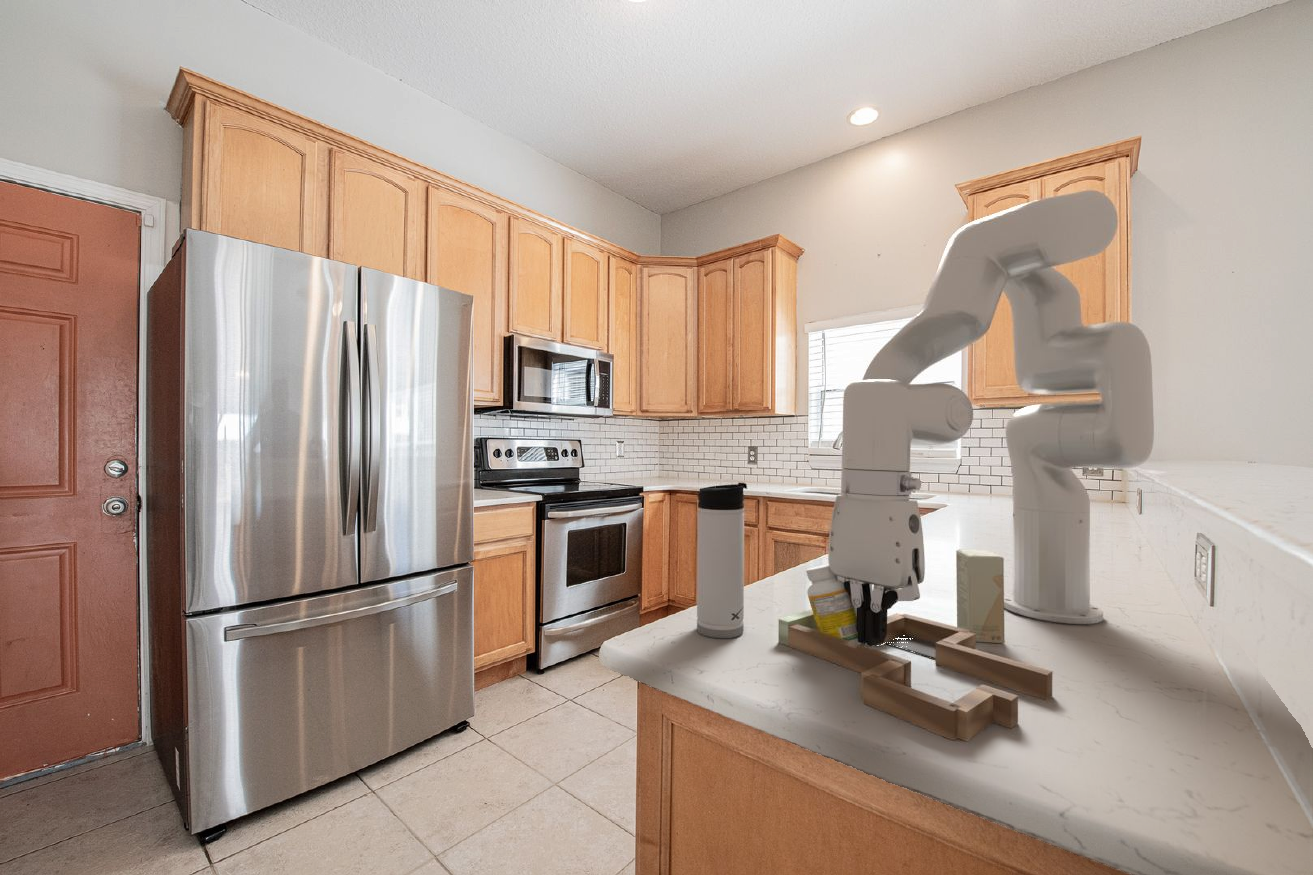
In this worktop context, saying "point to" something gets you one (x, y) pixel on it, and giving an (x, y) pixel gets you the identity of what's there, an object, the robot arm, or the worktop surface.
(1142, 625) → the worktop surface
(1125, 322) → the robot arm
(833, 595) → the supplement bottle
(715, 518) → the travel mug
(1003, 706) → the box
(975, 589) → the box
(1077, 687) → the worktop surface
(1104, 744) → the worktop surface
